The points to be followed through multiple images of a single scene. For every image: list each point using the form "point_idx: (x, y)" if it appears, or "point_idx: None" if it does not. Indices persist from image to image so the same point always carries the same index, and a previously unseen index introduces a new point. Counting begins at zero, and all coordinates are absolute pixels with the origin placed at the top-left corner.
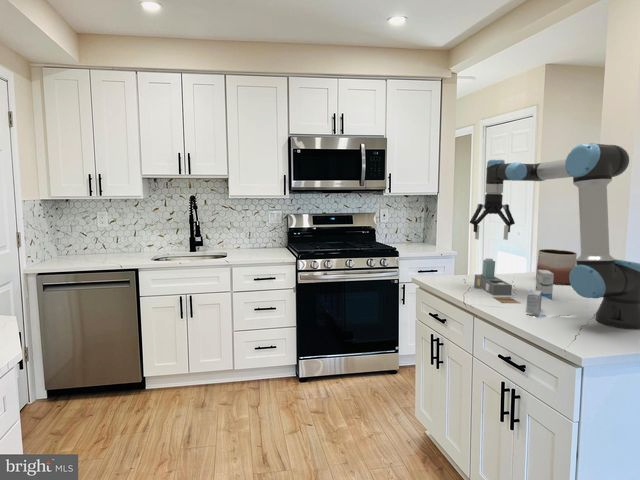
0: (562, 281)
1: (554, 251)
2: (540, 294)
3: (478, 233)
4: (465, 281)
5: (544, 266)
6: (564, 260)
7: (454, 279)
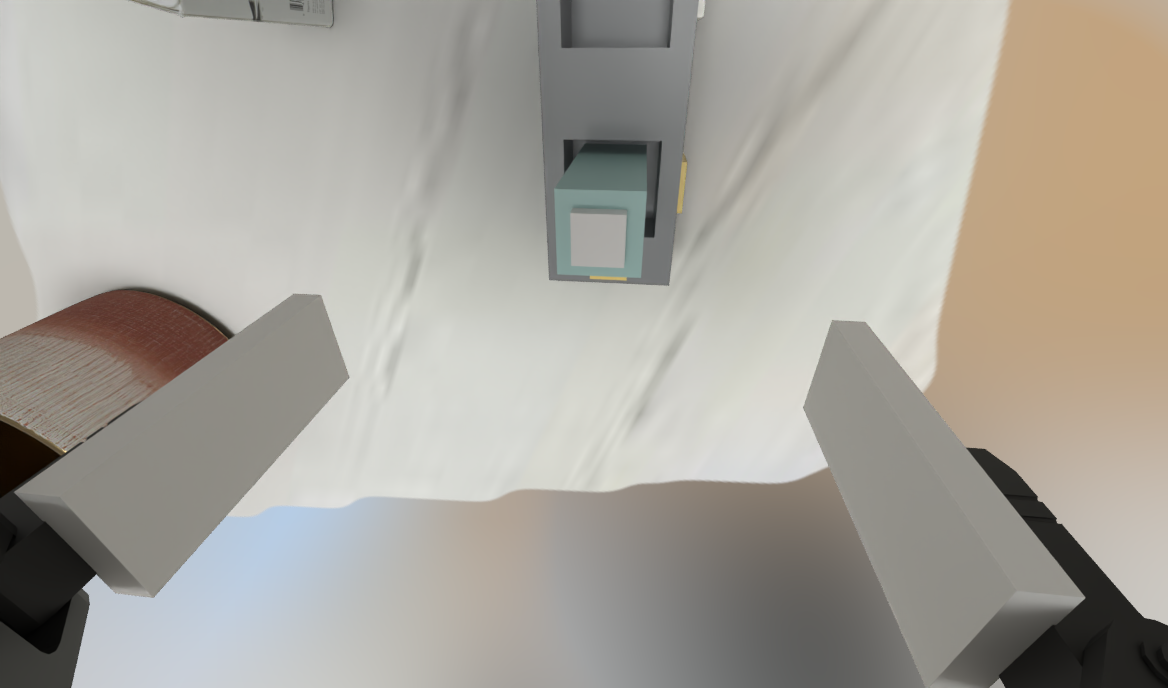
0: (129, 295)
1: None
2: None
3: (895, 397)
4: (655, 373)
5: None
6: None
7: (696, 414)
